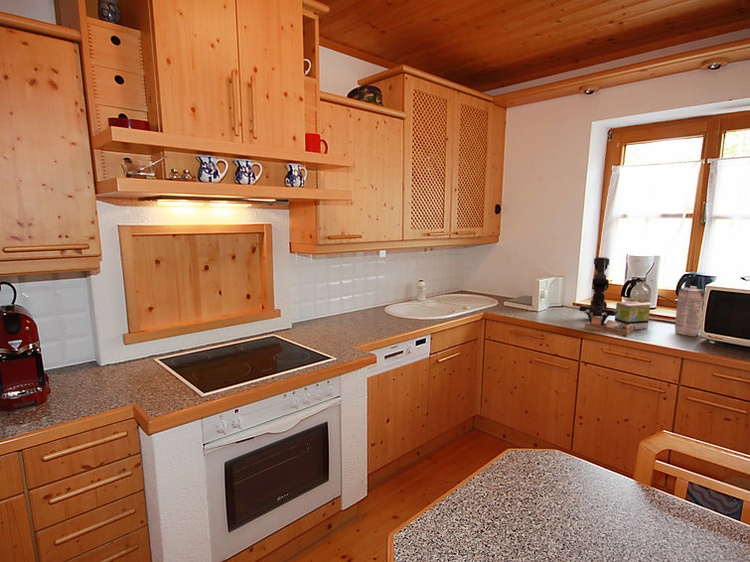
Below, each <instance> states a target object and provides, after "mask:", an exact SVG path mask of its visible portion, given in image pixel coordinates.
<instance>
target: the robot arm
mask: <svg viewBox="0 0 750 562" xmlns="http://www.w3.org/2000/svg"><path fill="white" fill-rule="evenodd" d="M593 265H594V269H595V270H596V274H594V278H592V285H591V290H593V293H592V295H593V296H592V298H591V299H590V305H585V304H582V305H580V306H579V308H578V310H579V311H580V312H584V314H586V315H587V317H588V320H589V324H591V320H592V317H593V316H600V317H602V323H601V326H603V324H604V323H606V320H607V318H608V317H614V316H615V315H616V314H617V311H616V308H615V309H614V308H608V307H607V306H608V304H607V302H606V300H605V298H606V296H605V294H606V291H608V289H609V283H610V281H609V280H608V278H607V276H608V275H606V273H605V271H607V269H608V266H609V265H610V258H608V257H604V256H603V257H601V256H597V257H596V258H595V257H594V258H593Z"/></svg>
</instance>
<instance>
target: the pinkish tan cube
mask: <svg viewBox="0 0 750 562" xmlns="http://www.w3.org/2000/svg"><path fill="white" fill-rule="evenodd" d="M601 323H602V317H600V316H593V317H592V320H591V324H592V325H598V326H601Z"/></svg>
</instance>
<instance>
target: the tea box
mask: <svg viewBox="0 0 750 562" xmlns="http://www.w3.org/2000/svg"><path fill="white" fill-rule="evenodd" d="M615 310H616V311H617V314H616V315H615V317H614V321H616V322H617V325H618V324H619V323H621V326H625V327H627V326H629V325H630V324H633V330H644V329H643V328H647V329H648V327H649V320H650V319H649V318H650V313H651V304H649V303H644V302H640V301H621V302H616V306H615Z"/></svg>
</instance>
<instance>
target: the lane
mask: <svg viewBox="0 0 750 562" xmlns="http://www.w3.org/2000/svg"><path fill="white" fill-rule="evenodd" d="M621 327H623V330H622V329H616V328H610V327H606V322H604V324H603V326H598V325H592V324H590V323H584V327H583V329H584V328H586V329H585V330H590V329H591V331H595V330H597V331H596V332H601V331H603V332H602V333H606V332H609V333H608V334H612V333H614V334H613V335H617V334H618V336H623V335H625V336H624V337H628V335H629V334H630V335H632V334H633V331H634V329H633V324H630V325H629V326H627V327H625V326H621ZM631 333H632V334H631ZM630 335H629V336H630Z"/></svg>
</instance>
